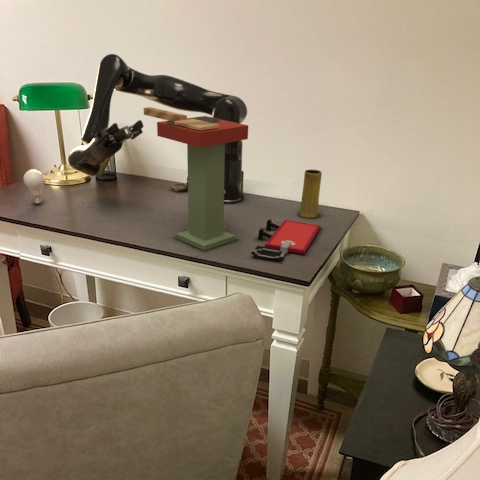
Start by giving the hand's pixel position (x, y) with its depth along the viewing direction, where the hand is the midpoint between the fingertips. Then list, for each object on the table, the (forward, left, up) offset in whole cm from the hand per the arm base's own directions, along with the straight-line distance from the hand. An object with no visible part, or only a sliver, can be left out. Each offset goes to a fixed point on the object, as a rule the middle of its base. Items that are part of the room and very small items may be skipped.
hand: (129, 124), depth 153 cm
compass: (-28, -11, -27) cm, 40 cm away
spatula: (0, +22, +4) cm, 22 cm away
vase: (-43, +36, -27) cm, 62 cm away
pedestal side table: (-4, +27, -27) cm, 39 cm away
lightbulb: (+18, -29, -27) cm, 44 cm away
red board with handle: (-19, +46, -27) cm, 57 cm away
